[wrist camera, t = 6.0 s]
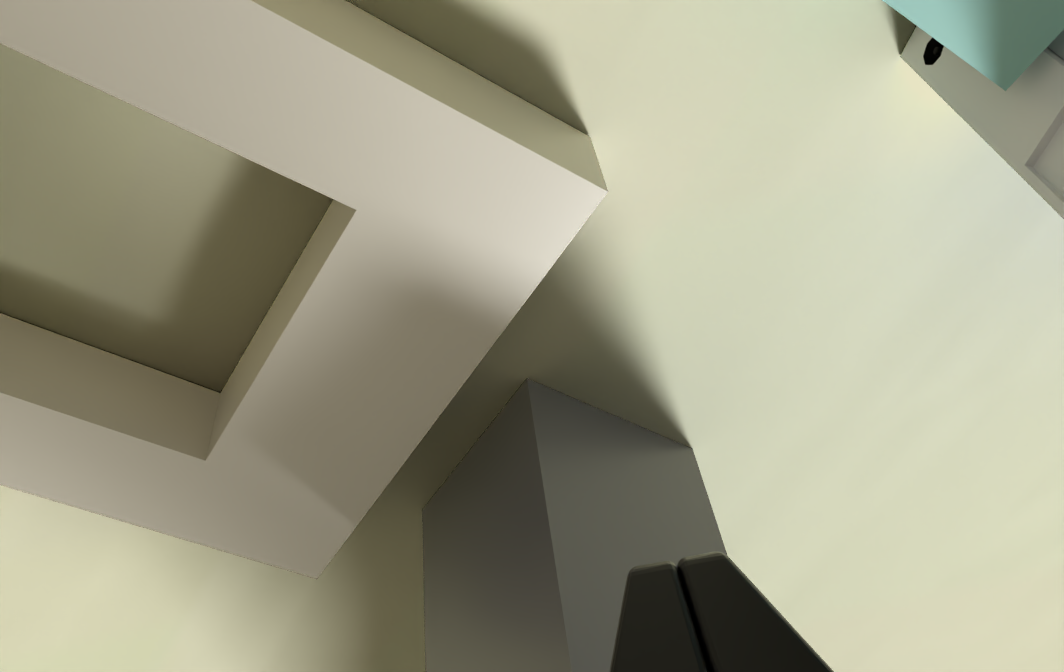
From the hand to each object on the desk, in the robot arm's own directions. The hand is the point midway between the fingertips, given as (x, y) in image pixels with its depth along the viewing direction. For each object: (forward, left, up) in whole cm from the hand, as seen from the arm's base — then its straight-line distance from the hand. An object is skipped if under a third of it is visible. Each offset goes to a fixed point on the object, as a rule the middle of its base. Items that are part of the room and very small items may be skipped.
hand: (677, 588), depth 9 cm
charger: (-5, +7, -9) cm, 13 cm away
